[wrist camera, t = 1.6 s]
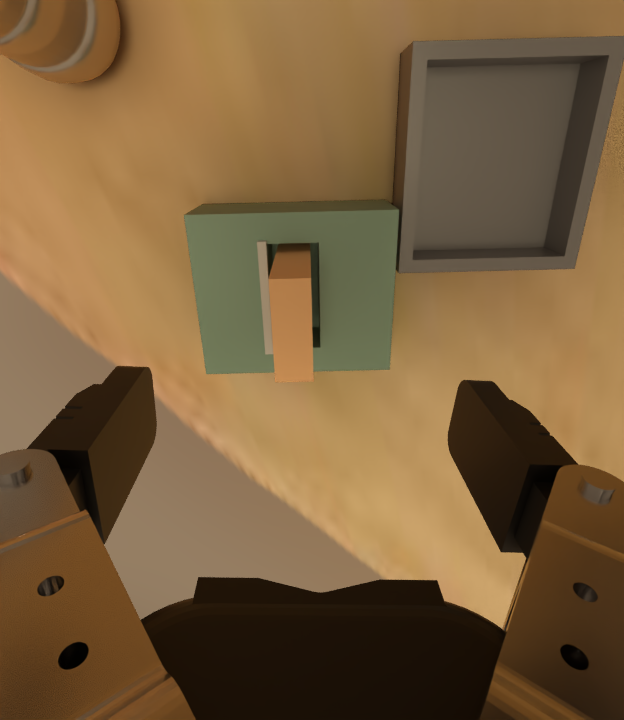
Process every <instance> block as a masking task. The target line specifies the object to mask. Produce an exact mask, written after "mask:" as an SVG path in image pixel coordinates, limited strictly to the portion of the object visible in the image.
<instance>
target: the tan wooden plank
mask: <svg viewBox="0 0 624 720" xmlns="http://www.w3.org/2000/svg"><path fill="white" fill-rule="evenodd" d="M268 280H269V295H270V310H271V325H272V340H273V355H274V370H275V382H309V381H314V377H313V335H312V294H311V256H310V243H285V244H278V248H277V251H276V255H275V258H274V262H273V265H272V269H271V272H270V276H269V279H268Z"/></svg>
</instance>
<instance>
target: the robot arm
mask: <svg viewBox="0 0 624 720" xmlns="http://www.w3.org/2000/svg"><path fill="white" fill-rule="evenodd" d="M156 422H157V421H156V411H155V400H154V390H153V380H152V373H151V370H150V368H149V367H132V366H117V367H116V368H115V369H114V370H113V371H112V372H111V374H110V375H109V376H108V377H107V378H106V379H105V381H104V382H103V383H102V384H93V385H92V386H90V387H88V388H86V389H85V390H83V391H81V392H79V393H77V394H76V395H75V396H74V397H73V398H72V399H71V400H70V401H69V403H68V404H67V405H66V406H65V409H62V410H61V411H60V412H59V414H58V415H57V416H56V419H53V420H52V421H51V423H50V424H49V425H48V426H47V427H46V428H45V429H44V430H43V431H42V432H41V434H40V435H39V436H38V437H37V438H36V439H35V440H34V441H33V442H32V443H31V445H30V446H29V447H28V448H27V449H23V450H17V451H11V452H8V453H4V454H1V455H0V720H624V482H623V481H621V480H620V479H618V478H617V477H615V476H613V475H611V474H609V473H607V472H605V471H602V470H600V469H597V468H594V467H590V466H585V465H578V464H577V463H576V461H575V460H574V459H573V458H572V457H571V456H570V455H569V454H568V453H567V452H566V450H565V449H564V448H563V447H562V446H561V445H560V444H559V443H558V442H557V441H556V439H555V438H554V437H553V436H550V433H549V432H548V431H547V429H546V428H545V427H544V426H543V425H541V423H540V422H539V421H538V420H537V418H536V417H535V416H534V415H533V414H532V413H531V412H530V411H529V410H527V409H526V408H524V407H523V406H521V405H519V404H518V403H516V402H514V401H513V400H509V399H508V398H507V397H506V396H505V394H504V393H503V392H502V391H501V390H500V389H499V387H498V386H497V385H496V384H495V383H494V382H492V381H474V380H463V381H462V382H461V383H460V384H459V387H458V390H457V395H456V399H455V404H454V408H453V413H452V417H451V421H450V426H449V431H448V446H449V451H450V454H451V456H452V458H453V460H454V462H455V464H456V466H457V468H458V470H459V472H460V473H461V475H462V477H463V479H464V481H465V483H466V485H467V487H468V489H469V491H470V493H471V495H472V497H473V499H474V501H475V503H476V505H477V506H478V508H479V510H480V512H481V514H482V516H483V518H484V520H485V522H486V524H487V526H488V528H489V530H490V532H491V534H492V536H493V538H494V539H495V541H496V543H497V545H498V547H499V549H500V551H501V552H516V553H524V555H525V557H526V560H525V563H524V566H523V569H522V571H521V574H520V577H519V580H518V583H517V586H516V589H515V592H514V595H513V598H512V601H511V604H510V607H509V610H508V613H507V616H506V619H505V622H504V625H503V628H502V629H501V628H500V627H498V626H497V625H496V624H494V623H493V622H491V621H489V620H487V619H486V618H484V617H482V616H481V615H479V614H477V613H475V612H472V611H470V610H468V609H466V608H464V607H461V606H458V605H455V604H452V603H449V602H445V601H444V599H443V596H442V593H441V590H440V587H439V584H438V581H437V580H376V581H372V582H368V583H363V584H359V585H355V586H350V587H346V588H342V589H337V590H334V591H329V592H323V593H318V592H312V591H308V590H304V589H300V588H296V587H292V586H288V585H284V584H280V583H276V582H272V581H268V580H264V579H260V578H215V577H213V578H211V577H198V581H197V586H196V590H195V594H194V598H191V599H187V600H183V601H180V602H177V603H174V604H172V605H169V606H166V607H164V608H162V609H160V610H158V611H155V612H153V613H152V614H150V615H148V616H147V617H145V618H143V619H141V620H140V618H139V616H138V614H137V612H136V610H135V608H134V606H133V604H132V602H131V600H130V598H129V595H128V594H127V591H126V589H125V587H124V585H123V583H122V581H121V579H120V577H119V575H118V573H117V571H116V569H115V567H114V565H113V562H112V561H111V558H110V556H109V554H108V552H107V550H106V548H105V546H104V544H105V542H106V540H107V538H108V536H109V534H110V532H111V530H112V528H113V526H114V524H115V522H116V520H117V518H118V516H119V513H120V512H121V510H122V507H123V505H124V503H125V501H126V499H127V497H128V495H129V493H130V491H131V489H132V487H133V485H134V483H135V481H136V479H137V476H138V474H139V473H140V470H141V468H142V466H143V464H144V462H145V460H146V458H147V456H148V454H149V452H150V450H151V448H152V446H153V443H154V440H155V436H156V426H157V423H156Z"/></svg>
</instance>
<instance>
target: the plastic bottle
mask: <svg viewBox="0 0 624 720" xmlns="http://www.w3.org/2000/svg"><path fill="white" fill-rule="evenodd" d="M119 41H120V18H119V12H118V7H117V4H116V1H115V0H0V54H1V55H3V56H6V57H8V58H9V59H10V60H12V61H13V62H15V63H16V64H18V65H19V66H20V67H22V68H24V69H26V70H28V71H30V72H32V73H33V74H35V75H38V76H40V77H42V78H44V79H46V80H49V81H53V82H57V83H78V82H84V81H89V80H92V79H94V78H96V77H98V76H100V75H101V74H102V73H103V72H105V71H106V70H107V69H108V68H109V66H110V65H111V63H112V62H113V60H114V58H115V55H116V53H117V50H118V47H119Z"/></svg>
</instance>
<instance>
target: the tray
mask: <svg viewBox="0 0 624 720" xmlns="http://www.w3.org/2000/svg"><path fill="white" fill-rule="evenodd" d="M623 60H624V36H603V37H564V38H524V39H485V40H446V41H413V42H412V43H411V44H410V45H409V46H408V47H407V48H406V49H405V50H404V51H403V52H402V53H401V54H400V71H399V90H398V108H397V127H396V146H395V165H394V184H393V203H392V205H393V206H395V207H396V208H397V209H399V220H398V237H397V254H396V270H397V271H398V273H426V272H466V271H506V270H547V269H575V265H576V260H577V256H578V252H579V247H580V243H581V239H582V235H583V230H584V226H585V222H586V218H587V213H588V209H589V205H590V201H591V196H592V192H593V188H594V184H595V179H596V175H597V171H598V167H599V162H600V158H601V154H602V150H603V145H604V141H605V137H606V133H607V128H608V124H609V120H610V116H611V111H612V107H613V103H614V99H615V94H616V90H617V86H618V82H619V77H620V73H621V69H622V65H623Z"/></svg>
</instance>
